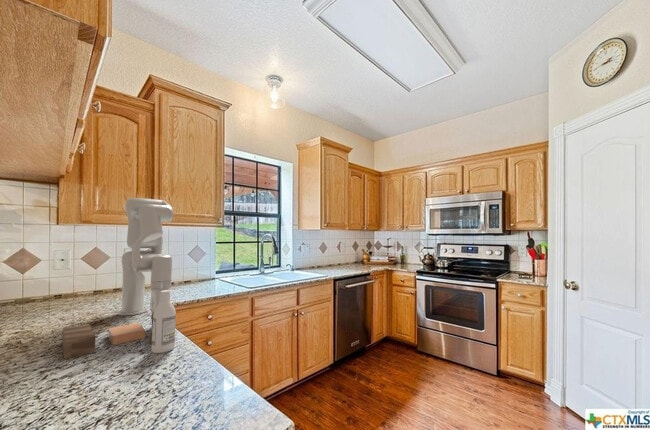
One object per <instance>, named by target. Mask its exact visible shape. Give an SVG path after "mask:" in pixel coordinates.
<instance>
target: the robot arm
mask: <svg viewBox="0 0 650 430" xmlns="http://www.w3.org/2000/svg"><path fill="white" fill-rule="evenodd" d="M124 208H125V213H126V216H127V221H128V222H127V223H128V225H127V236H126V245H127V247H129V248H131V251H130V250H129V251H126V252H124V253H123V254H122V255H121V265H122V291H121V308H120V310H118V311H117V312H116V313H117V315H118V316H124V317H125V316H135V315H140V314H143V313H146V312H147V311H148V308H147V307H144V305H145V285H146V282H145V281H146V278H145V277H146V276H145V274H144V273H148V272H149V273H150V290H151V294H150V301H149V302H150V304H149V311H150V312H151V313H153V312H154V311H155V309H156V307H157V306H158V304H159V303H160V297H161V291H164V290H170V289H171V288H172V271H173V269H172V267H173V258H172V256H171V255H169V254H166V253H162V251H163V241H164V240H163V239H164V238H163V233H164V231H163V226H162V223H170V222H172V221H173V219H174V214H175V212H174V209H173V208H172V206H171V205H170V204H169V203H168V202H166V200H163V199H153V198H145V197H144V198H143V197H131V198H128V199H127V200H126V201H125V206H124ZM141 249H143V250H141ZM144 249H145V250H144ZM146 249H149V250H146ZM152 322H153V321H152V320H151V323H152Z"/></svg>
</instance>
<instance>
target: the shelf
mask: <svg viewBox="0 0 650 430" xmlns="http://www.w3.org/2000/svg"><path fill="white" fill-rule="evenodd" d="M61 337H62V338H61V346H62V352H63V353H62V354H63V357H64V359H70V358H74V357H79V356H84V355H88V354H90V353H91V354H92V353H95V352H96V334H95V332H94V330H93V328H92V326H91V324H90V323H86V324H81V325H75V326H68V327H63V328H62V335H61Z"/></svg>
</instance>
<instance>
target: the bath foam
mask: <svg viewBox="0 0 650 430" xmlns="http://www.w3.org/2000/svg"><path fill="white" fill-rule="evenodd" d="M175 308H176V307H175V306H174V304H173V303H172V302H171V290H170V289H169V290H164V291H161V297H160V303H159V304H158V306H157V307H156V309H155V311H154V314H153V327H152V326H151V328H152V344H151V352H152V353H154V354H163V353H167V352H169V351H172V350H173V349H174V348H175V342H176V320H177V313H176V312H177V311H176V309H175Z"/></svg>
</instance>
